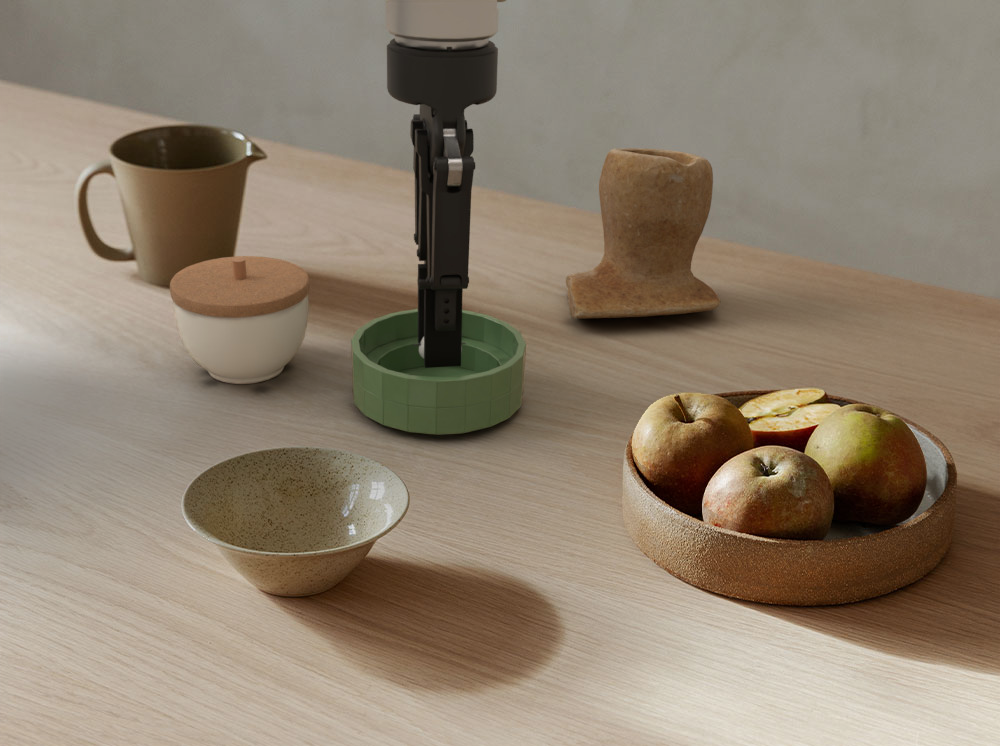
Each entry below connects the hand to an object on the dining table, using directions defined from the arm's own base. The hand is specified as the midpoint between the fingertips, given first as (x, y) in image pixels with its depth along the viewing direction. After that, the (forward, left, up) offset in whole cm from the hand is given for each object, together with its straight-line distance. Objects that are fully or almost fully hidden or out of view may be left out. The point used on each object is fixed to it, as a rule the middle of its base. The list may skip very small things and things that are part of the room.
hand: (438, 353), depth 85 cm
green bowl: (0, 0, -4) cm, 4 cm away
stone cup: (+21, +17, -4) cm, 27 cm away
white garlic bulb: (0, 0, 0) cm, 0 cm away
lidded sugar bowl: (-15, +7, -4) cm, 17 cm away
